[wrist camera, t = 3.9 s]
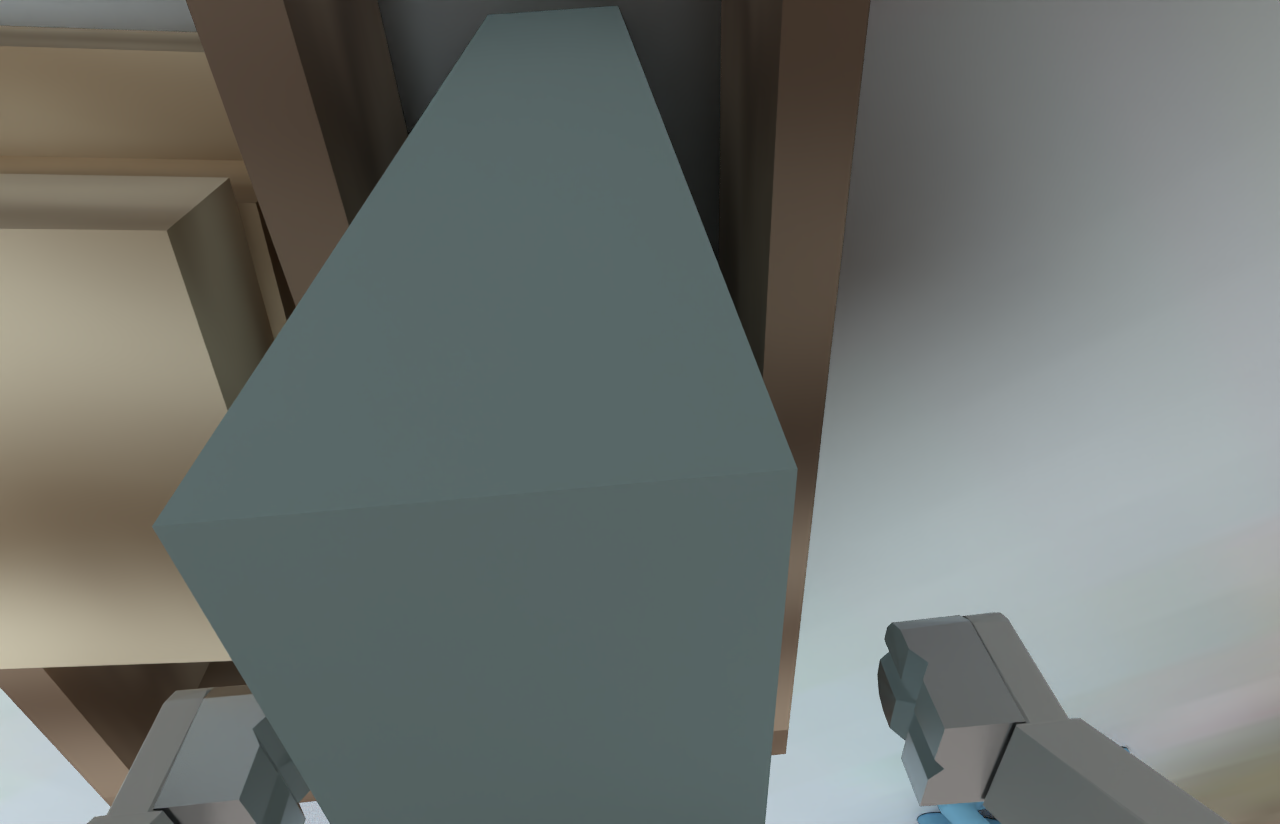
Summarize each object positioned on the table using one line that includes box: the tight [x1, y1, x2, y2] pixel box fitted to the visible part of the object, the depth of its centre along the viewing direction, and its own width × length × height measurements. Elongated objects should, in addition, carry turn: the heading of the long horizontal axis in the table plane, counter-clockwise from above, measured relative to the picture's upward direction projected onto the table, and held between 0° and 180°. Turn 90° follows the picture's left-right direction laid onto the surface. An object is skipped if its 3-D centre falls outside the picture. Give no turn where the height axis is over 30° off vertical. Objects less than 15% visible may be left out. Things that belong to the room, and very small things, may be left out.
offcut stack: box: [0, 26, 296, 669], centre depth 15 cm, size 13×7×7 cm, turn 178°
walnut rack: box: [0, 0, 870, 807], centre depth 16 cm, size 21×18×5 cm
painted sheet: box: [152, 6, 798, 824], centre depth 13 cm, size 14×2×14 cm, turn 3°
